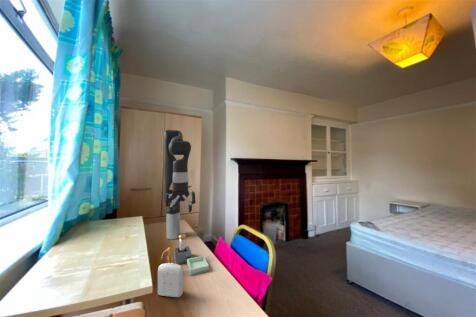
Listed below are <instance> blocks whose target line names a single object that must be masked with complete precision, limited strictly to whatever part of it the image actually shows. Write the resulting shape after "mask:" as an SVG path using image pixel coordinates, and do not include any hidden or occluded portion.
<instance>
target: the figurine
mask: <svg viewBox="0 0 476 317" xmlns="http://www.w3.org/2000/svg"><path fill="white" fill-rule="evenodd" d="M174 250H176V249H174V247H170V246H168V247H167V249H165V250H164V251H163V252H162V254H161V257H160V259H161V260H163V256H164V254H165V253H166V252H167V257H166V258H167V263H173V261H174V253H172V252H173V251H174ZM176 252H177V250H176ZM177 253H178V252H177ZM178 256H179V253H178ZM170 259H171V261H170Z"/></svg>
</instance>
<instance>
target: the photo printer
mask: <svg viewBox="0 0 476 317" xmlns="http://www.w3.org/2000/svg"><path fill="white" fill-rule="evenodd" d="M183 269H184V267H183V266H182V265H181V264H175V262H172V263H171V262H169V263H168V262H166V263H161V264H160V265H159V266H158V268H157V295H158V296H164V297H172V298H181V296H182V295H183V290H184V283H183V282H184V275H183V274H184V270H183Z"/></svg>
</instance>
